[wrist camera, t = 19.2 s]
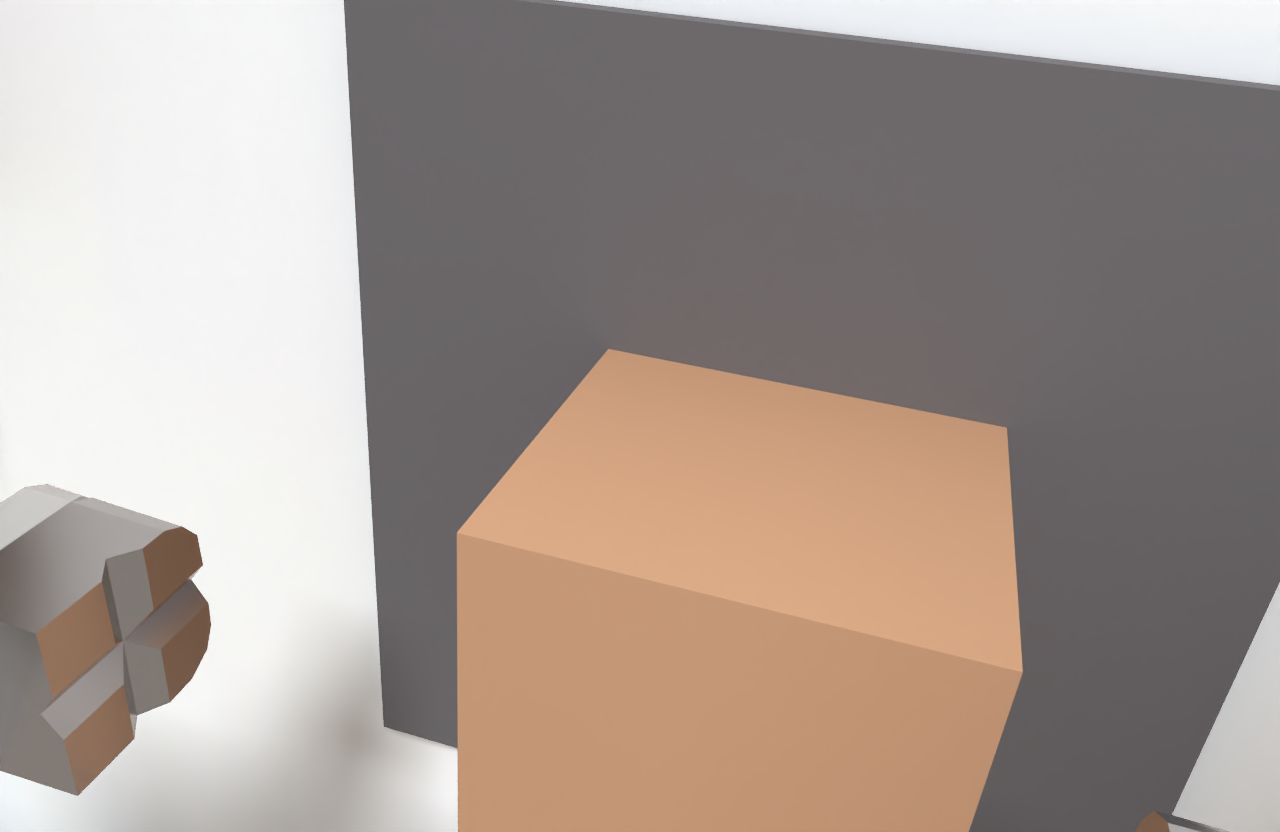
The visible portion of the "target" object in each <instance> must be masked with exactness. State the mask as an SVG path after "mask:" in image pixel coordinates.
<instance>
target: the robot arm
mask: <svg viewBox="0 0 1280 832" xmlns="http://www.w3.org/2000/svg"><path fill="white" fill-rule="evenodd" d="M202 566H203V563H202V558H201V553H200V548H199V543H198V538H197V535H195V534H194V533H192V532H190V531H189V530H187V529H185V528H183V527H182V526H178V525H175V524H172V523H169V522H166V521H163V520H160V519H157V518H154V517H151V516H147V515H144V514H141V513H138V512H135V511H132V510H129V509H126V508H123V507H120V506H116V505H113V504H110V503H107V502H104V501H101V500H98V499H95V498H88V497H85V496H82V495H78V494H75V493H72V492H69V491H66V490H63V489H60V488H57V487H54V486H51V485H48V484H45V485H38V486H31V487H25V488H23V489H21V490H20V491H18V492H17V493H15V494H14V495H12V496H10V497H9V498H7V499H6V500H4V501H3V502H1V503H0V771H3V772H6V773H9V774H12V775H16V776H19V777H22V778H25V779H28V780H31V781H34V782H37V783H40V784H43V785H46V786H49V787H52V788H55V789H58V790H61V791H65V792H68V793H71V794H74V795H77V796H78V795H79V794H80V793H81V792H82V791H83V790H84V789H85V788H86V787H87V786H88V785H89V784H90V783H91V782H92V781H93V780H94V779H95V778H96V777H97V776H98V775H99V774H100V773H101V772H102V771H103V770H104V769H105V768H106V767H107V766H108V765H109V764H110V763H111V762H112V761H113V760H114V759H115V758H116V757H117V756H118V755H119V754H120V753H121V752H122V751H123V750H124V749H125V747H126V746H127V745H128V744H129V743H130V742H131V741H132V740H133V739H134V737H135V729H136V721H137V715H139V714H142V713H144V712H147V711H149V710H152V709H154V708H157V707H159V706H162V705H164V704H167V703H169V702H171V701H172V699H173V698H174V697H175V696H176V695H177V694H178V693H179V692H180V691H181V690H182V689H183V688H184V687H185V686H186V684H187V683H188V682H189V681H190V680H191V679H192V677H193V675H194V674H195V672H196V670H197V668H198V666H199V664H200V662H201V660H202V658H203V656H204V654H205V652H206V650H207V646H208V640H209V634H210V628H211V621H210V613H209V605H208V602H207V601H206V600H205V598H204V597H203V595H202V594H201V593H200V591H199V590H198V589H197V587H196V586H195V584H194V583H193V582H192V580H191V579H192V578H193V577H194V575H195V574H196V573H197V572H198V570H199V569H200V568H201V567H202ZM1136 832H1229V831H1225V830H1222V829H1218V828H1215V827H1211V826H1208V825H1204V824H1201V823H1197V822H1194V821H1190V820H1186V819H1183V818H1179V817H1176V816H1172V815H1169V814H1165V813H1162V812H1158V811H1155V810H1154V811H1153V812H1152V813H1151V814H1149V815H1148V816H1147V817H1146V818H1144V819H1143V820H1142V821H1141V823H1140V825H1139V826H1138V828H1137V830H1136Z"/></svg>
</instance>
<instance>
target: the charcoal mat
mask: <svg viewBox="0 0 1280 832" xmlns="http://www.w3.org/2000/svg"><path fill="white" fill-rule="evenodd" d="M344 10H345V28H346V47H347V65H348V83H349V101H350V119H351V137H352V156H353V174H354V192H355V210H356V228H357V247H358V265H359V283H360V301H361V319H362V337H363V356H364V374H365V392H366V410H367V428H368V447H369V465H370V483H371V501H372V519H373V538H374V556H375V574H376V592H377V610H378V628H379V647H380V665H381V683H382V701H383V719H384V727H388V728H391V729H394V730H398V731H401V732H405V733H408V734H411V735H415V736H418V737H422V738H425V739H428V740H432V741H435V742H439V743H442V744H446V745H449V746H452V747H456V748H458V701H457V532H458V531H459V529H460V528H461V527H462V526H463V525H464V523H465V522H466V521H467V520H468V519H469V517H470V516H471V515H472V514H473V512H474V511H475V510H476V509H477V508H478V506H479V505H480V504H481V503H482V502H483V500H484V499H485V498H486V497H487V495H488V494H489V493H490V492H491V491H492V489H493V488H494V487H495V486H496V485H497V483H498V482H499V481H500V480H501V479H502V477H503V476H504V475H505V474H506V472H507V471H508V470H509V469H510V468H511V466H512V465H513V464H514V463H515V462H516V460H517V459H518V458H519V457H520V455H521V454H522V453H523V452H524V451H525V449H526V448H527V447H528V446H529V445H530V443H531V442H532V441H533V440H534V439H535V437H536V436H537V435H538V434H539V432H540V431H541V430H542V429H543V428H544V426H545V425H546V424H547V423H548V422H549V420H550V419H551V418H552V417H553V416H554V414H555V413H556V412H557V411H558V409H559V408H560V407H561V406H562V405H563V403H564V402H565V401H566V400H567V399H568V397H569V396H570V395H571V394H572V392H573V391H574V390H575V389H576V388H577V386H578V385H579V384H580V383H581V382H582V380H583V379H584V378H585V377H586V376H587V374H588V373H589V372H590V371H591V369H592V368H593V367H594V366H595V365H596V363H597V362H598V361H599V360H600V359H601V357H602V356H603V355H604V354H605V352H606V351H607V350H608V349H611V350H616V351H621V352H627V353H632V354H637V355H642V356H647V357H652V358H657V359H662V360H667V361H672V362H677V363H682V364H687V365H692V366H697V367H702V368H707V369H713V370H718V371H723V372H728V373H733V374H738V375H743V376H748V377H753V378H758V379H763V380H768V381H773V382H778V383H783V384H788V385H793V386H799V387H804V388H809V389H814V390H819V391H824V392H829V393H834V394H839V395H844V396H849V397H854V398H859V399H864V400H869V401H874V402H879V403H885V404H890V405H895V406H900V407H905V408H910V409H915V410H920V411H925V412H930V413H935V414H940V415H945V416H950V417H955V418H960V419H965V420H971V421H976V422H981V423H986V424H991V425H996V426H1001V427H1006V428H1007V437H1008V452H1009V467H1010V483H1011V498H1012V514H1013V529H1014V544H1015V560H1016V575H1017V591H1018V606H1019V621H1020V637H1021V652H1022V668H1023V673H1022V676H1021V679H1020V682H1019V685H1018V688H1017V691H1016V694H1015V697H1014V700H1013V703H1012V706H1011V709H1010V712H1009V714H1008V717H1007V720H1006V723H1005V726H1004V729H1003V732H1002V735H1001V738H1000V741H999V744H998V747H997V750H996V753H995V756H994V759H993V762H992V765H991V768H990V770H989V773H988V776H987V779H986V782H985V785H984V788H983V791H982V794H981V797H980V800H979V803H978V806H977V809H976V812H975V815H974V818H973V821H972V823H971V826H970V829H969V832H1136V830H1137V828H1138V826H1139V825H1140V823H1141V821H1142V820H1143V819H1144V818H1146V817H1147V816H1148V815H1149V814H1151V813H1152V812H1153V811H1154V810H1155V811H1158V812H1162V813H1165V814H1169V815H1172V813H1173V811H1174V808H1175V806H1176V804H1177V802H1178V800H1179V798H1180V795H1181V793H1182V791H1183V789H1184V787H1185V785H1186V782H1187V780H1188V778H1189V776H1190V774H1191V772H1192V770H1193V767H1194V765H1195V763H1196V761H1197V759H1198V757H1199V754H1200V752H1201V750H1202V748H1203V746H1204V744H1205V742H1206V739H1207V737H1208V735H1209V733H1210V731H1211V729H1212V726H1213V724H1214V722H1215V720H1216V718H1217V716H1218V714H1219V711H1220V709H1221V707H1222V705H1223V703H1224V701H1225V698H1226V696H1227V694H1228V692H1229V690H1230V688H1231V686H1232V683H1233V681H1234V679H1235V677H1236V675H1237V673H1238V670H1239V668H1240V666H1241V664H1242V662H1243V660H1244V658H1245V655H1246V653H1247V651H1248V649H1249V647H1250V645H1251V642H1252V640H1253V638H1254V636H1255V634H1256V632H1257V630H1258V627H1259V625H1260V623H1261V621H1262V619H1263V617H1264V614H1265V612H1266V610H1267V608H1268V606H1269V604H1270V602H1271V599H1272V597H1273V595H1274V593H1275V591H1276V589H1277V586H1278V584H1279V582H1280V86H1278V85H1269V84H1261V83H1252V82H1244V81H1235V80H1227V79H1218V78H1210V77H1201V76H1193V75H1184V74H1176V73H1167V72H1159V71H1150V70H1142V69H1133V68H1125V67H1116V66H1108V65H1100V64H1091V63H1083V62H1074V61H1066V60H1057V59H1049V58H1040V57H1032V56H1023V55H1015V54H1006V53H998V52H989V51H981V50H972V49H964V48H955V47H947V46H938V45H930V44H921V43H913V42H904V41H896V40H887V39H879V38H870V37H862V36H853V35H845V34H836V33H828V32H819V31H811V30H802V29H794V28H785V27H777V26H768V25H760V24H751V23H743V22H734V21H726V20H717V19H709V18H700V17H692V16H683V15H675V14H666V13H658V12H649V11H641V10H632V9H624V8H615V7H607V6H598V5H590V4H581V3H573V2H564V1H556V0H344Z"/></svg>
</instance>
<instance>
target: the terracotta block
mask: <svg viewBox="0 0 1280 832" xmlns="http://www.w3.org/2000/svg"><path fill="white" fill-rule="evenodd" d="M1022 673H1023V668H1022V652H1021V637H1020V621H1019V606H1018V591H1017V575H1016V560H1015V544H1014V529H1013V514H1012V498H1011V483H1010V467H1009V452H1008V437H1007V428H1006V427H1001V426H996V425H991V424H986V423H981V422H976V421H971V420H965V419H960V418H955V417H950V416H945V415H940V414H935V413H930V412H925V411H920V410H915V409H910V408H905V407H900V406H895V405H890V404H885V403H879V402H874V401H869V400H864V399H859V398H854V397H849V396H844V395H839V394H834V393H829V392H824V391H819V390H814V389H809V388H804V387H799V386H793V385H788V384H783V383H778V382H773V381H768V380H763V379H758V378H753V377H748V376H743V375H738V374H733V373H728V372H723V371H718V370H713V369H707V368H702V367H697V366H692V365H687V364H682V363H677V362H672V361H667V360H662V359H657V358H652V357H647V356H642V355H637V354H632V353H627V352H621V351H616V350H611V349H608V350H607V351H606V352H605V354H604V355H603V356H602V357H601V359H600V360H599V361H598V362H597V363H596V365H595V366H594V367H593V368H592V369H591V371H590V372H589V373H588V374H587V376H586V377H585V378H584V379H583V380H582V382H581V383H580V384H579V385H578V386H577V388H576V389H575V390H574V391H573V392H572V394H571V395H570V396H569V397H568V399H567V400H566V401H565V402H564V403H563V405H562V406H561V407H560V408H559V409H558V411H557V412H556V413H555V414H554V416H553V417H552V418H551V419H550V420H549V422H548V423H547V424H546V425H545V426H544V428H543V429H542V430H541V431H540V432H539V434H538V435H537V436H536V437H535V439H534V440H533V441H532V442H531V443H530V445H529V446H528V447H527V448H526V449H525V451H524V452H523V453H522V454H521V455H520V457H519V458H518V459H517V460H516V462H515V463H514V464H513V465H512V466H511V468H510V469H509V470H508V471H507V472H506V474H505V475H504V476H503V477H502V479H501V480H500V481H499V482H498V483H497V485H496V486H495V487H494V488H493V489H492V491H491V492H490V493H489V494H488V495H487V497H486V498H485V499H484V500H483V502H482V503H481V504H480V505H479V506H478V508H477V509H476V510H475V511H474V512H473V514H472V515H471V516H470V517H469V519H468V520H467V521H466V522H465V523H464V525H463V526H462V527H461V528H460V529H459V531H458V532H457V701H458V832H969V829H970V826H971V823H972V821H973V818H974V815H975V812H976V809H977V806H978V803H979V800H980V797H981V794H982V791H983V788H984V785H985V782H986V779H987V776H988V773H989V770H990V768H991V765H992V762H993V759H994V756H995V753H996V750H997V747H998V744H999V741H1000V738H1001V735H1002V732H1003V729H1004V726H1005V723H1006V720H1007V717H1008V714H1009V712H1010V709H1011V706H1012V703H1013V700H1014V697H1015V694H1016V691H1017V688H1018V685H1019V682H1020V679H1021V676H1022Z"/></svg>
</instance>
